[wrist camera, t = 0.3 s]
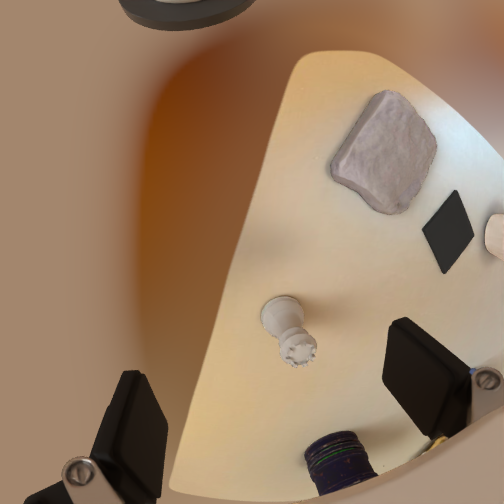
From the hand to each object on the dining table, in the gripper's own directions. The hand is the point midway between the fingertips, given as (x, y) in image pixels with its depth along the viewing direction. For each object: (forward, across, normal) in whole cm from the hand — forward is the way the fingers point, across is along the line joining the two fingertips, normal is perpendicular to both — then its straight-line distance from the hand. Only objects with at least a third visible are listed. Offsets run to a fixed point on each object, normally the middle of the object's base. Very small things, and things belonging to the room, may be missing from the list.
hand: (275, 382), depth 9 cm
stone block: (+19, -17, -8) cm, 26 cm away
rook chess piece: (+19, -4, +7) cm, 20 cm away
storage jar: (+19, -10, +36) cm, 42 cm away
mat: (+18, -28, +2) cm, 33 cm away
